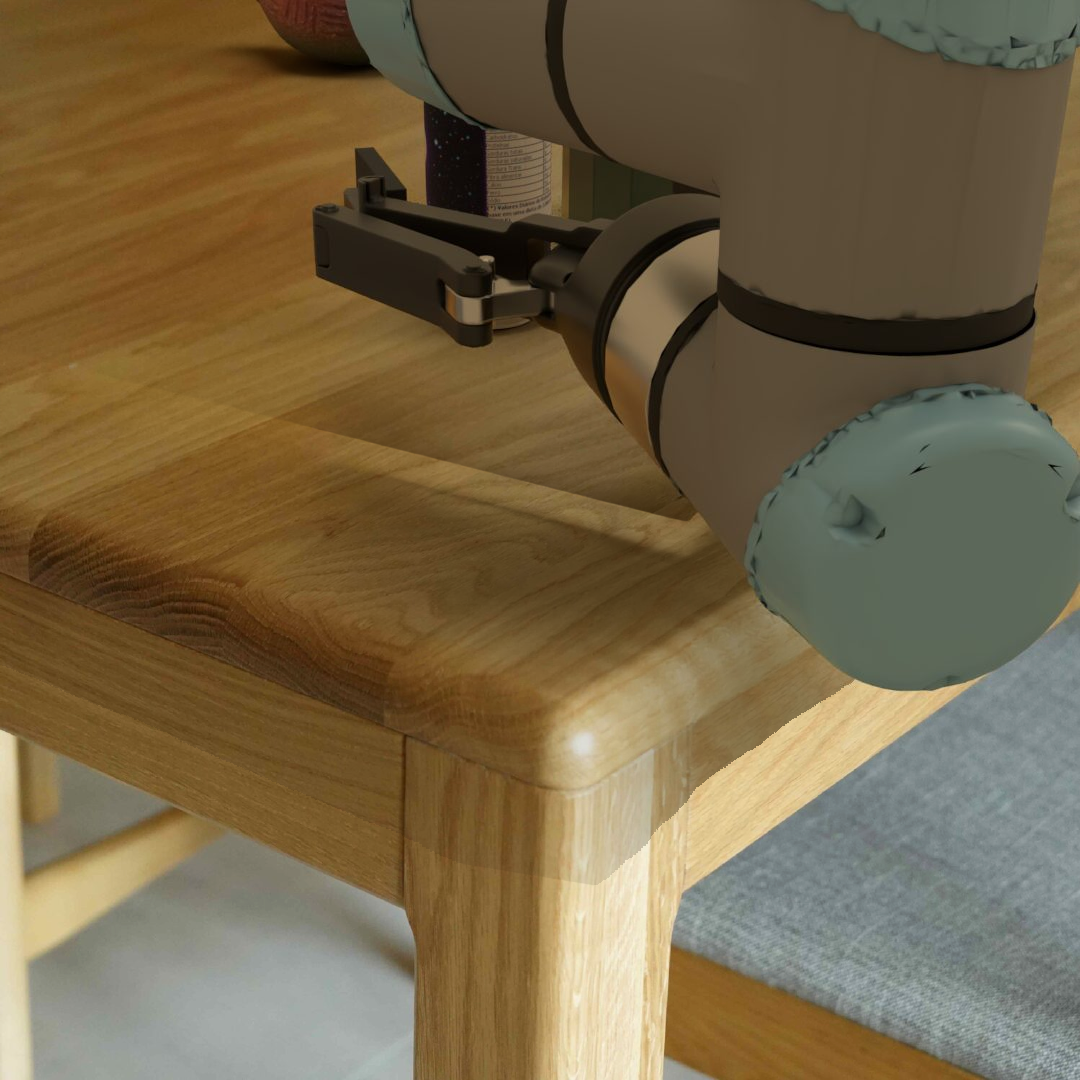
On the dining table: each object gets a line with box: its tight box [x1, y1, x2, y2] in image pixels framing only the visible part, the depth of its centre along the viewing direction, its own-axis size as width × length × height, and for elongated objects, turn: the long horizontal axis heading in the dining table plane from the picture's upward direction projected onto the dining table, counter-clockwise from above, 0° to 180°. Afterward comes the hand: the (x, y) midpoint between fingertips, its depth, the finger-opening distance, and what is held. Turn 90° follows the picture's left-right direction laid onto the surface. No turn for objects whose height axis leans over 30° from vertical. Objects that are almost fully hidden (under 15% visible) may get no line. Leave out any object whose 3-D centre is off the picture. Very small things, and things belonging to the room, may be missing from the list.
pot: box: [561, 146, 675, 223], centre depth 87 cm, size 12×17×10 cm
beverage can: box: [423, 101, 553, 330], centre depth 74 cm, size 6×6×12 cm
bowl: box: [255, 0, 371, 67], centre depth 128 cm, size 16×13×8 cm
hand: (527, 170), depth 68 cm, fingers open, 13 cm apart
